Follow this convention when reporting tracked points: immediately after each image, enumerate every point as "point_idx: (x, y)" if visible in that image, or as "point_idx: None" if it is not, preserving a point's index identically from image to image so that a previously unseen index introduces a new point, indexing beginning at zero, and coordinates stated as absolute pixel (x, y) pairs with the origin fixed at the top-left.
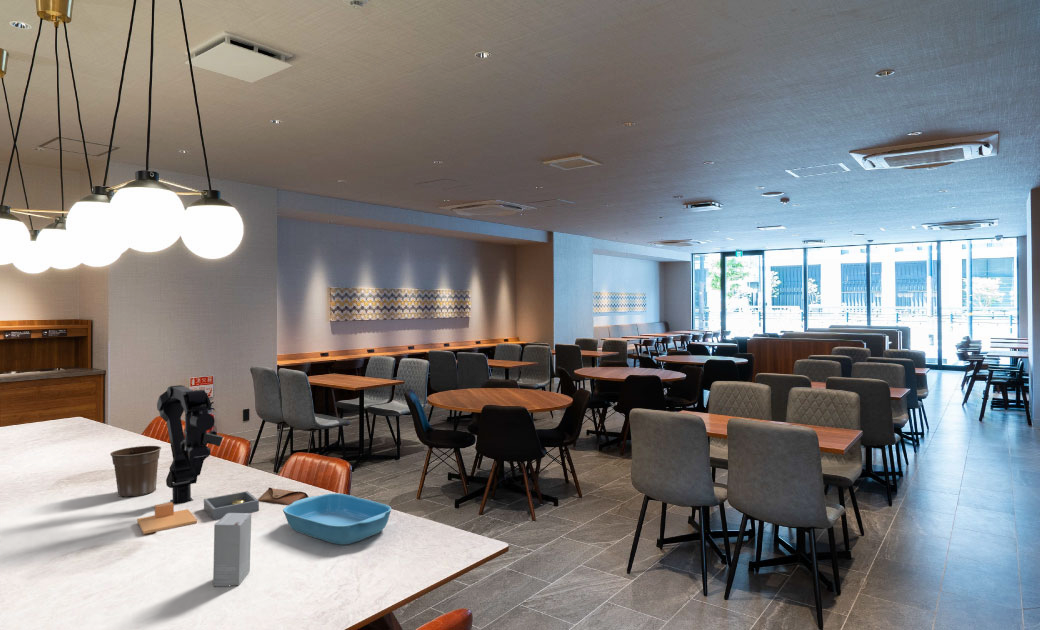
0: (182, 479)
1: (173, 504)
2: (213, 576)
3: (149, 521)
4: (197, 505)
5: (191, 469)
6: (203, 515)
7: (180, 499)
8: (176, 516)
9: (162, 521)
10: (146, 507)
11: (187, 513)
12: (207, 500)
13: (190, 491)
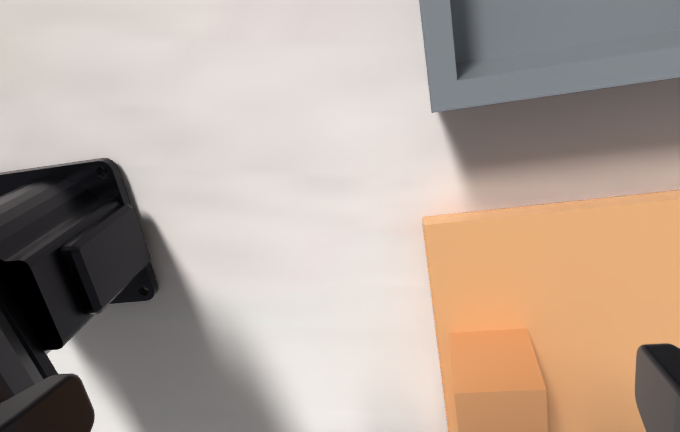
0: (31, 371)
1: (545, 388)
2: None
3: None
4: (224, 132)
5: (86, 423)
6: (579, 99)
7: (136, 268)
8: (593, 314)
9: None
10: (125, 422)
11: (563, 237)
12: (521, 77)
13: (19, 206)
